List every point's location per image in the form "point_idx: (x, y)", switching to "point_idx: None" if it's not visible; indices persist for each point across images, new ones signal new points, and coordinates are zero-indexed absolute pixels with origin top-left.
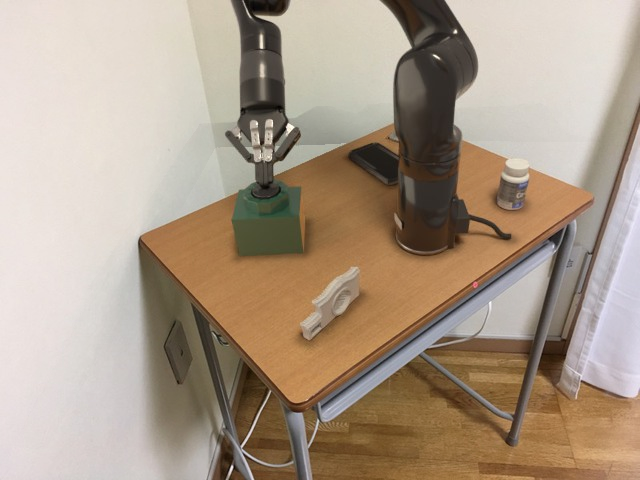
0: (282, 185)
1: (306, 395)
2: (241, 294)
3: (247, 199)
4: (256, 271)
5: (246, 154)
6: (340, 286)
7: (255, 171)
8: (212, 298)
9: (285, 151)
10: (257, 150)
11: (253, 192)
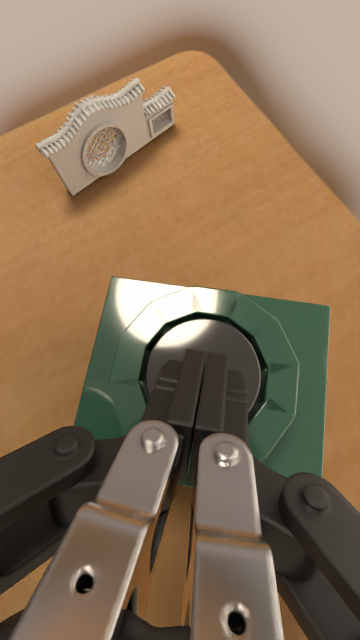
0: (129, 398)
1: (185, 51)
2: (278, 226)
3: (280, 329)
4: (247, 283)
5: (319, 500)
6: (84, 101)
7: (245, 412)
8: (336, 225)
9: (12, 459)
10: (223, 514)
11: (256, 360)
